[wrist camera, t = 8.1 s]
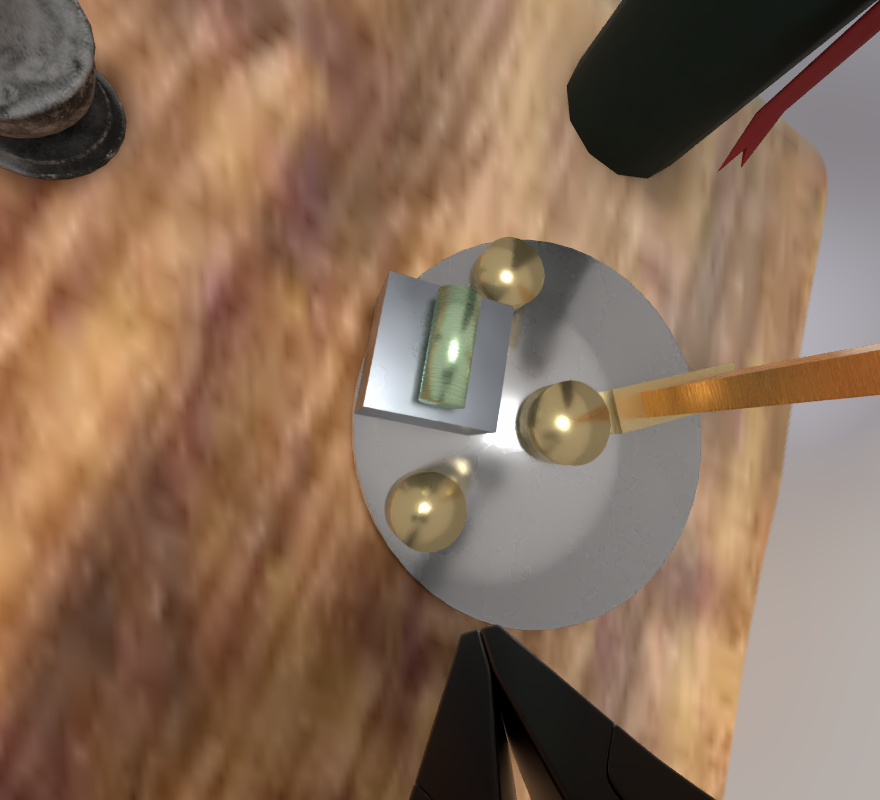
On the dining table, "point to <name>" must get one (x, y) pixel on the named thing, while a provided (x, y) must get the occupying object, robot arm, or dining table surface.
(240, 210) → the dining table surface
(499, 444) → the levelling plate
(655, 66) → the wine bottle
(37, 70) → the grey chess bishop
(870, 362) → the lever
